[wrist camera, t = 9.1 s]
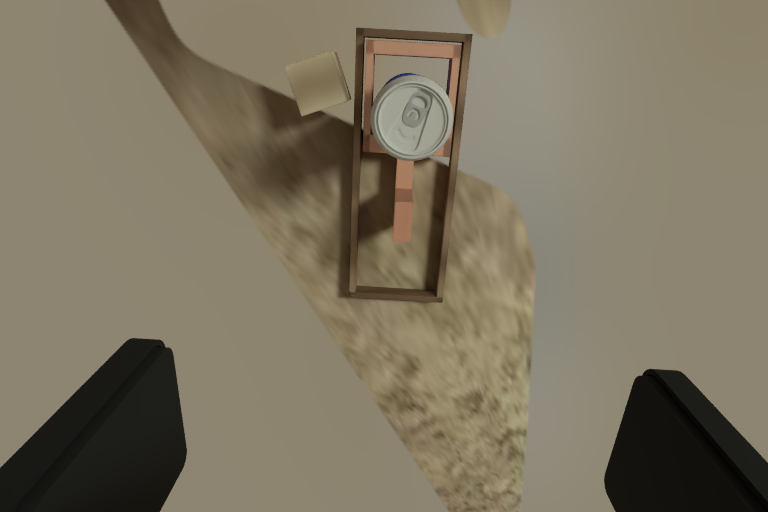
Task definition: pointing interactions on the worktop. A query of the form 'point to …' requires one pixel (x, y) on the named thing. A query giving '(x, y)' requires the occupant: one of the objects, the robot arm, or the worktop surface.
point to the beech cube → (318, 83)
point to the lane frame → (452, 172)
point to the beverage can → (411, 117)
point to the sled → (404, 168)
